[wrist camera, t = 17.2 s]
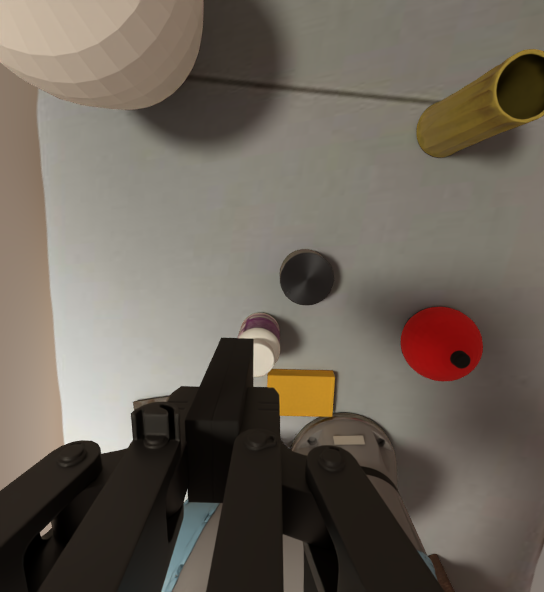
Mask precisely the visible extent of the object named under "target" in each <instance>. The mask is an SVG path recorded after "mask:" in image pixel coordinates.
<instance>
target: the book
mask: <svg viewBox="0 0 544 592" xmlns="http://www.w3.org/2000/svg"><path fill="white" fill-rule="evenodd" d="M428 557H429V558H430V560H431V561H432V563H433V566H434V569H435V575H436V577H437V580H438V582H439V584H440V585H441V587H442V588H443V590H444V591H445V592H455V591H454V589H453V587H452V585H451V583H450V581H449V579H448V577H447V574H446V572H445V570H444V568H443V566H442V564H441V562H440V560H439V558H438V556H437V554H433V555H429V556H428Z"/></svg>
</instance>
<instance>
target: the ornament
mask: <svg viewBox="0 0 544 592" xmlns="http://www.w3.org/2000/svg"><path fill="white" fill-rule="evenodd" d="M401 349H402V353H403V355H404V358H405V359H406V361H407V362H408V364H409V365H410V367H412V368H413V369H414V370H415V371H416V372H417V373H419V374H420V375H422V376H424V377H426V378H429V379H432V380H435V381H453V380H457V379H460V378H462V377H464V376H466V375H467V374H469V373H470V372H471V371H472V370H473V369H474V368H475V367H476V366H477V365H478V363H479V361H480V359H481V356H482V352H483V342H482V336H481V334H480V331H479V329H478V328H477V326H476V325H475V323H474V322H473V321H472V320H471V319H470V318H469V317H468V316H466V315H465V314H463V313H462V312H460V311H457V310H454V309H451V308H447V307H431V308H427V309H424V310H422V311H419V312H418V313H416V314H415V315H413V316H412V317H411V318H410V319H409V320H408V322H407V323H406V325H405V326H404V329H403V331H402V335H401Z"/></svg>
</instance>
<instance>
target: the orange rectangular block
mask: <svg viewBox="0 0 544 592" xmlns="http://www.w3.org/2000/svg"><path fill="white" fill-rule="evenodd" d="M334 384H335V376H334V373H333V371H330V370H287V369H271V371H270V372H269V373H268V385H267V387H273V388H275V390H276V391H277V392H278V393H279V402H280V403H279V404H280V416H316V417H332V414H333V399H334Z"/></svg>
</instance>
